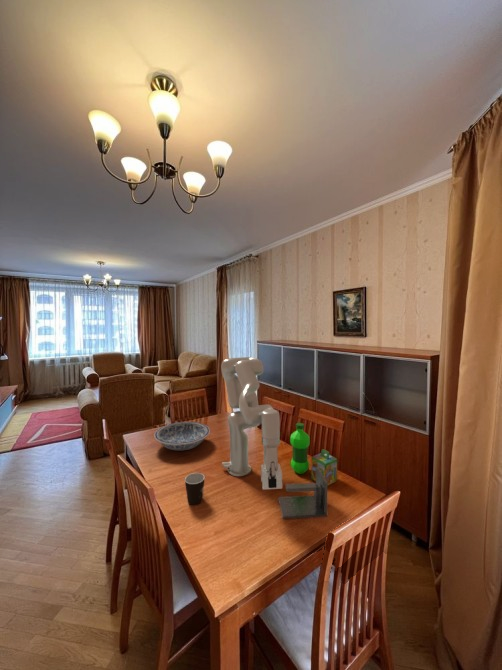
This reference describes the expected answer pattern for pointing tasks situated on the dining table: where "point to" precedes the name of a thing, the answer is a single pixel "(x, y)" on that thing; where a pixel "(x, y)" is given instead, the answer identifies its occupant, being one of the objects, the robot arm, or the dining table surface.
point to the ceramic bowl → (182, 435)
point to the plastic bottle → (300, 449)
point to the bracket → (306, 499)
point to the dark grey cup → (194, 488)
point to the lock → (266, 475)
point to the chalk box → (325, 466)
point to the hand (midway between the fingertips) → (271, 482)
